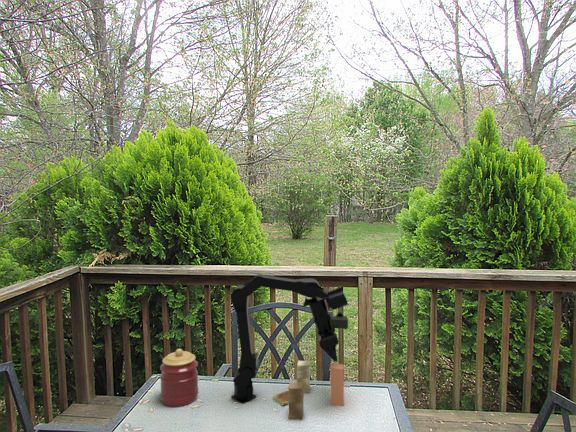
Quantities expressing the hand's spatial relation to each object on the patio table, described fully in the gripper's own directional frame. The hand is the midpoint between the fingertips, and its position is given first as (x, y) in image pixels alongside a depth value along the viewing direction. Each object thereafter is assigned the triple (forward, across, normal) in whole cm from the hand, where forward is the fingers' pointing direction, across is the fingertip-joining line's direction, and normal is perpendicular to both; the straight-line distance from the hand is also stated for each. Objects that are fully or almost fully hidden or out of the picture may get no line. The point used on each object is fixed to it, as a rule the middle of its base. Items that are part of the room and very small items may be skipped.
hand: (334, 355), depth 137 cm
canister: (-3, -1, +57) cm, 57 cm away
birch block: (+11, +6, +15) cm, 20 cm away
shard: (+9, 0, +22) cm, 24 cm away
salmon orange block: (+15, -2, +4) cm, 15 cm away
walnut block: (+10, -12, +18) cm, 23 cm away
